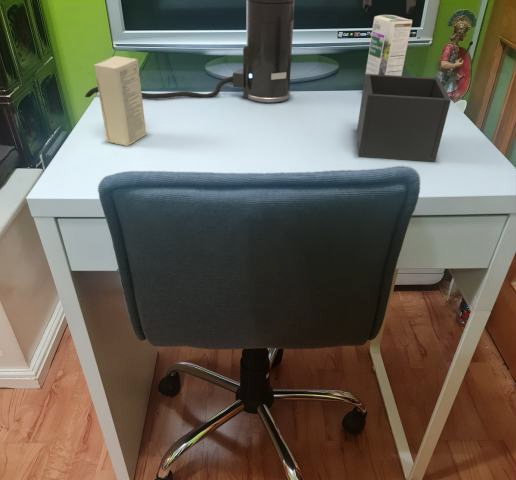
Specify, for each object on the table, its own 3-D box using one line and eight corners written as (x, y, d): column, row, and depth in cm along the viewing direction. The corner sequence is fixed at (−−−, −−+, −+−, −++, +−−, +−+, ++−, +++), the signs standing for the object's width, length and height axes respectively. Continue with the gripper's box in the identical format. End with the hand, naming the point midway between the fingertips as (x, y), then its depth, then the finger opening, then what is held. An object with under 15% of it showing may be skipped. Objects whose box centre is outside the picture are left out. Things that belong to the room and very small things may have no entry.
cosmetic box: (126, 131, 91) (115, 55, 83) (148, 135, 90) (138, 58, 82) (105, 142, 87) (92, 63, 79) (128, 147, 86) (116, 67, 78)
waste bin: (358, 156, 85) (367, 95, 78) (356, 130, 94) (365, 73, 88) (435, 162, 84) (451, 100, 77) (425, 135, 93) (439, 77, 87)
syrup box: (361, 92, 112) (372, 15, 103) (382, 89, 115) (395, 13, 105) (377, 99, 109) (390, 20, 99) (398, 96, 111) (413, 18, 101)
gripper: (359, -82, 102) (358, -4, 101) (429, -79, 102) (430, -2, 101) (351, -50, 109) (351, 22, 109) (417, -48, 110) (417, 24, 109)
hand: (389, 10), depth 105 cm, fingers open, 8 cm apart
